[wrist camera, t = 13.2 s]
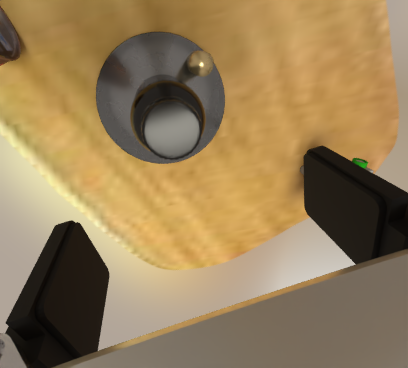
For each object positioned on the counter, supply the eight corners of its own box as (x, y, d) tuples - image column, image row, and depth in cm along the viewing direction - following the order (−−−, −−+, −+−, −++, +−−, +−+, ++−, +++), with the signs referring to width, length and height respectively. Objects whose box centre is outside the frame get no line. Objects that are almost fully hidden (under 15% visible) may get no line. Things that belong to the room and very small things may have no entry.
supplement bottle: (203, 108, 31) (231, 138, 21) (161, 143, 32) (167, 188, 22) (166, 59, 28) (179, 65, 17) (120, 99, 29) (106, 127, 18)
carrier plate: (72, 52, 26) (62, 53, 23) (209, 16, 27) (217, 12, 24) (126, 175, 34) (124, 188, 31) (232, 143, 35) (241, 153, 32)
